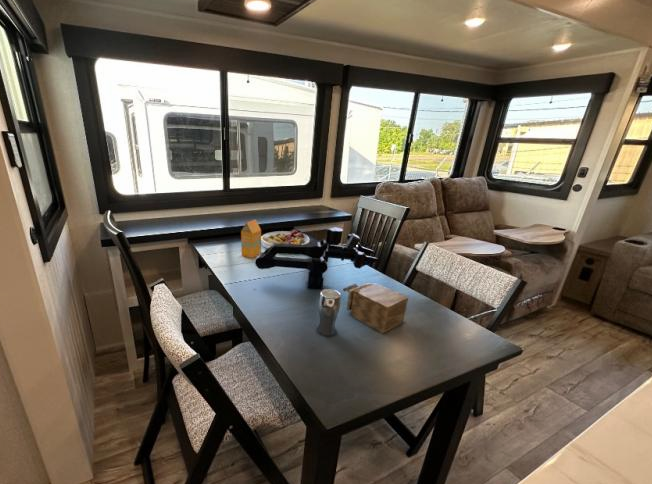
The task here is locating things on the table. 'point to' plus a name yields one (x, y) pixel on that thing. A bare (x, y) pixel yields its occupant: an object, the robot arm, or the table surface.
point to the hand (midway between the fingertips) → (375, 255)
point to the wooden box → (379, 307)
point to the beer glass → (328, 311)
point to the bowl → (284, 238)
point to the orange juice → (251, 239)
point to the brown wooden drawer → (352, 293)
